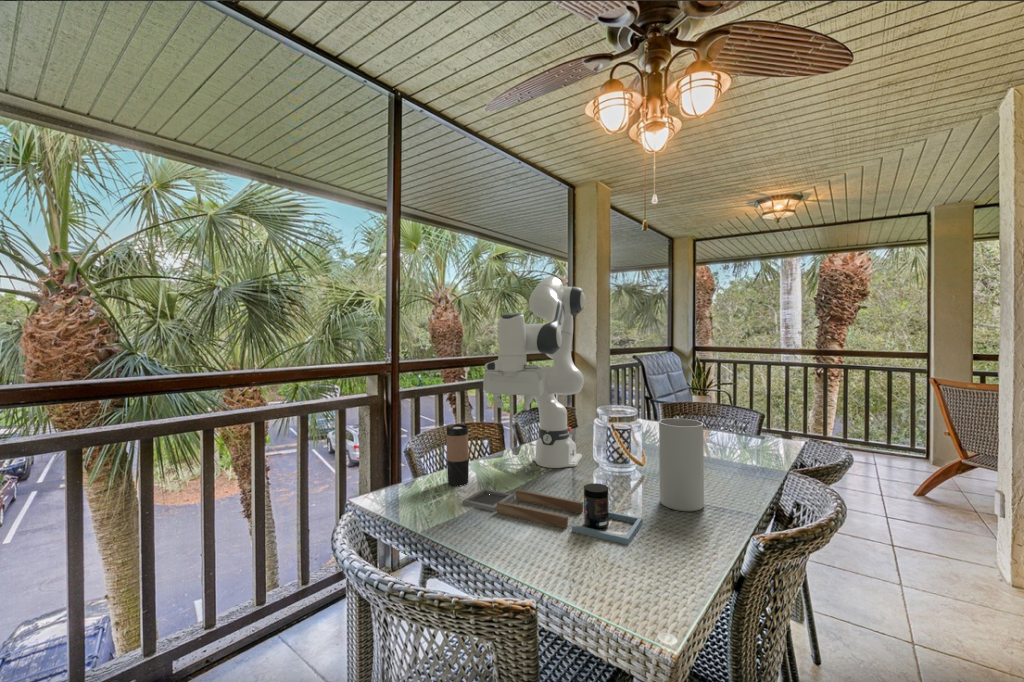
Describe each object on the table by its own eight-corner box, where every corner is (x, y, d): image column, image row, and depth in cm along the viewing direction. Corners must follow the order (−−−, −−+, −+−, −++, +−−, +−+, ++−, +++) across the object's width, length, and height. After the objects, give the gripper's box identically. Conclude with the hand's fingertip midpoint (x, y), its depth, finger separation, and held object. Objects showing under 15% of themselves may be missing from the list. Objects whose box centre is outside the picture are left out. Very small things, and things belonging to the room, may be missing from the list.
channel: (517, 498, 139) (517, 489, 139) (583, 512, 128) (582, 502, 128) (497, 512, 128) (496, 502, 128) (566, 528, 117) (565, 517, 117)
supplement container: (597, 518, 123) (597, 481, 123) (614, 527, 118) (614, 488, 117) (578, 523, 120) (578, 486, 120) (595, 533, 114) (594, 493, 114)
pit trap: (484, 492, 145) (484, 488, 145) (514, 498, 139) (514, 494, 139) (462, 504, 135) (462, 500, 135) (494, 511, 129) (493, 507, 129)
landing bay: (590, 512, 127) (590, 507, 127) (642, 523, 120) (642, 517, 120) (571, 531, 115) (571, 526, 115) (628, 544, 108) (628, 538, 108)
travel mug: (467, 486, 150) (466, 429, 150) (445, 486, 151) (444, 429, 150) (470, 479, 158) (469, 424, 158) (449, 479, 158) (448, 424, 158)
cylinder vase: (708, 514, 125) (707, 427, 125) (662, 511, 128) (662, 426, 127) (698, 497, 137) (698, 418, 137) (657, 495, 140) (656, 417, 139)
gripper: (546, 364, 134) (547, 409, 134) (491, 363, 144) (491, 405, 144) (537, 366, 128) (538, 413, 128) (480, 364, 139) (480, 408, 139)
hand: (513, 408), depth 136 cm, fingers open, 8 cm apart
